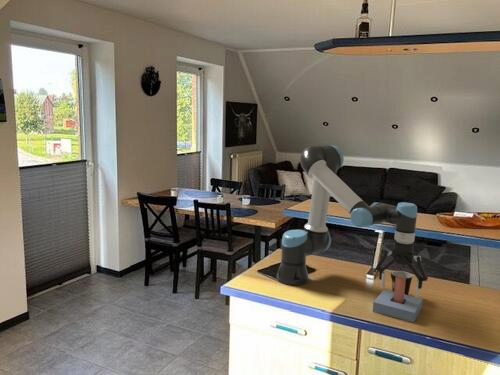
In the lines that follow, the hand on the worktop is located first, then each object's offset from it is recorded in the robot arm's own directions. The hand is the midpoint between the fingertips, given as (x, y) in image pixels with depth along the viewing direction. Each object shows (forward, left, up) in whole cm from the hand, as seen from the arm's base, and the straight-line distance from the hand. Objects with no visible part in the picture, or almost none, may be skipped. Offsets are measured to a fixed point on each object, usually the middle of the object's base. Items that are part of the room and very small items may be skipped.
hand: (399, 291), depth 172 cm
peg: (0, 0, -8) cm, 8 cm away
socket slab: (0, 0, -8) cm, 8 cm away
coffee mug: (-3, +16, -8) cm, 19 cm away
